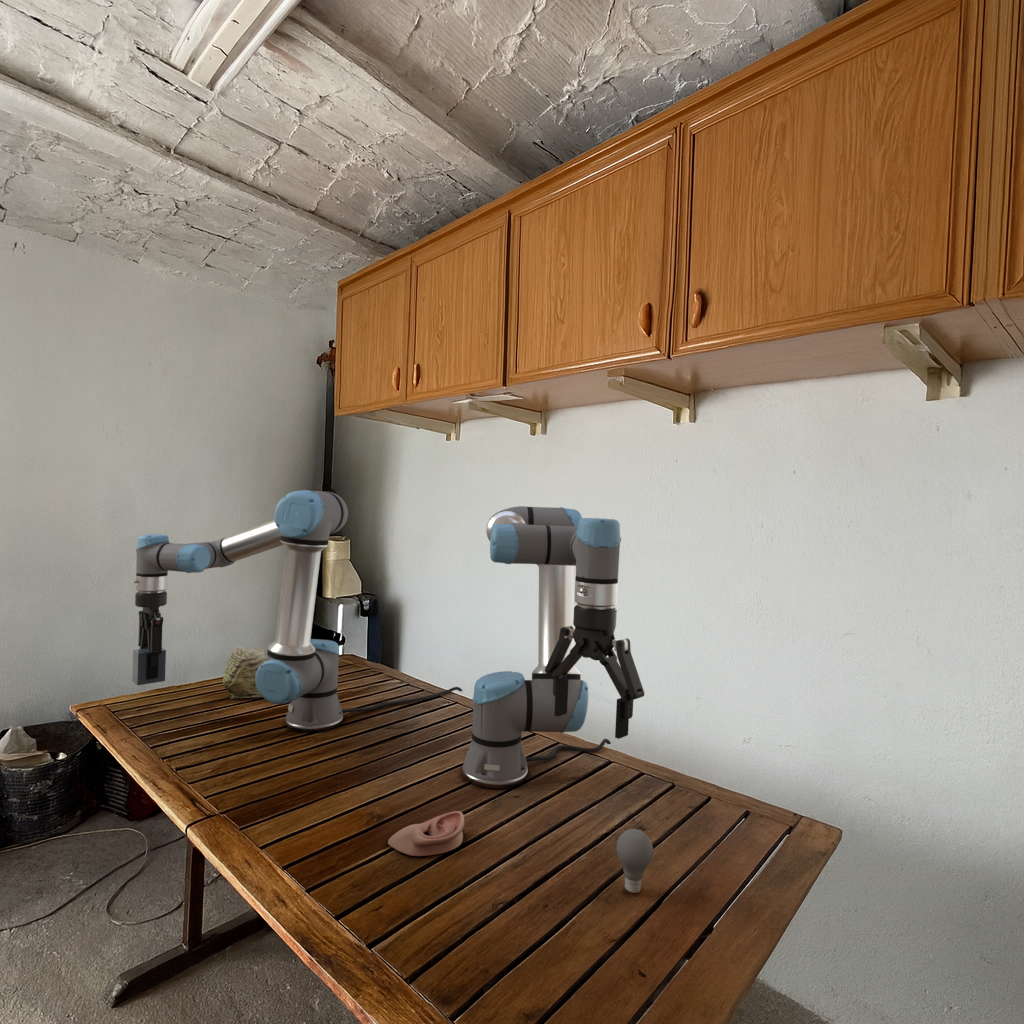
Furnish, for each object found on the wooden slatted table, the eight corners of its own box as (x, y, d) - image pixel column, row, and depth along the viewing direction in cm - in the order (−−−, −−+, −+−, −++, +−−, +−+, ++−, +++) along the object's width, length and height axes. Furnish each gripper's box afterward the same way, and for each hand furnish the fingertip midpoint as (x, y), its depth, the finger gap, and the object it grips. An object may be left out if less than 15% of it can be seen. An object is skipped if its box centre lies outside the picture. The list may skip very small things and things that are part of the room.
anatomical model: (381, 829, 114) (405, 800, 125) (380, 851, 114) (404, 820, 125) (452, 840, 111) (469, 809, 122) (451, 862, 111) (469, 830, 123)
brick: (132, 681, 172) (133, 649, 172) (159, 677, 177) (160, 646, 177) (137, 685, 169) (138, 653, 169) (165, 681, 174) (166, 649, 173)
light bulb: (610, 879, 108) (613, 822, 108) (644, 879, 109) (647, 822, 109) (619, 902, 102) (622, 840, 102) (655, 901, 103) (658, 840, 103)
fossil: (218, 695, 195) (220, 647, 195) (278, 685, 208) (279, 640, 207) (228, 703, 189) (230, 653, 188) (289, 692, 201) (290, 645, 201)
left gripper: (126, 587, 176) (124, 671, 177) (145, 596, 163) (143, 686, 164) (156, 586, 182) (154, 666, 182) (177, 594, 169) (174, 681, 169)
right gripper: (529, 597, 118) (524, 710, 118) (643, 619, 100) (637, 752, 101) (556, 594, 123) (551, 702, 124) (668, 614, 105) (662, 741, 106)
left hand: (148, 675), depth 173 cm, fingers closed on brick, 5 cm apart
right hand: (589, 725), depth 112 cm, fingers open, 13 cm apart
